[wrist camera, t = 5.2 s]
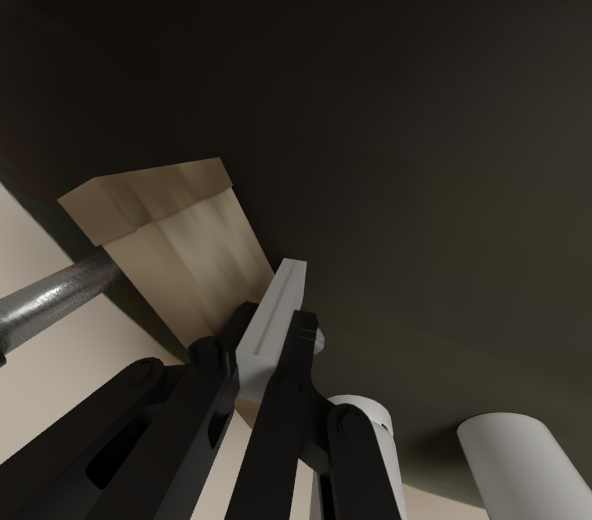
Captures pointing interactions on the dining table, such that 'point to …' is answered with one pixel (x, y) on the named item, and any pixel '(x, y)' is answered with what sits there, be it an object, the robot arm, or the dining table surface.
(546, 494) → the pill bottle
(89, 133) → the dining table surface
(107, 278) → the latch post
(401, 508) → the bottle
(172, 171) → the gate
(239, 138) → the dining table surface
